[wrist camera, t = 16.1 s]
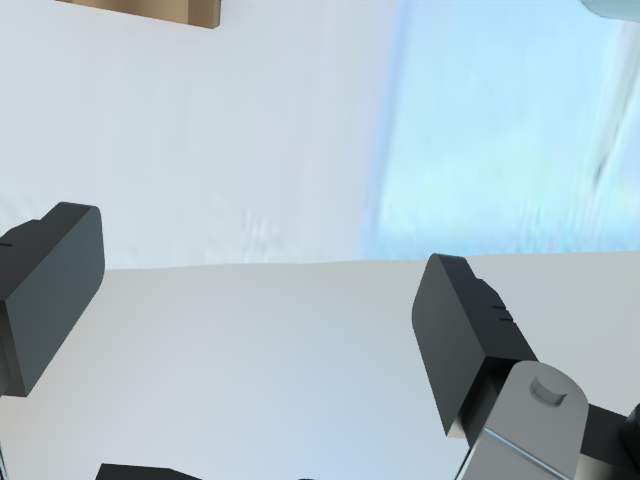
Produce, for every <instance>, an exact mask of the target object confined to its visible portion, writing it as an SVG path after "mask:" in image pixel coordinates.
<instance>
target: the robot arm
mask: <svg viewBox="0 0 640 480" xmlns="http://www.w3.org/2000/svg"><path fill="white" fill-rule="evenodd" d="M581 1H582V3H583V4H584V5H585V6H586V7H587V8H588V9H589V10H590V11H591V12H593V13H595V14H597V15H599V16H601V17H606V18H611V19H618V20H625V21H632V22H637V23H640V0H581ZM104 269H105V259H104V246H103V234H102V221H101V213H100V210H99V208H98V207H96V206H91V205H83V204H76V203H69V202H60V203H58V204H57V205H56V206H55V207H54V208H53V209H52V210H50V211H49V212H48V213H47V214H46V215H45V216H44V217H43V218H42V219H41V220H35V219H33V220H30V221H28V222H26V223H23V224H21V225H19V226H17V227H14V228H12V229H10V230H9V231H8V232H6V233H5V234H4V235H3V236H2V237H1V238H0V397H1V396H2V395H6V396H17V397H27V396H28V395H29V393H30V392H31V390H32V389H33V387H34V386H35V384H36V383H37V381H38V380H39V378H40V377H41V375H42V373H43V372H44V370H45V369H46V367H47V366H48V364H49V363H50V361H51V360H52V358H53V357H54V355H55V354H56V352H57V351H58V349H59V348H60V346H61V345H62V343H63V342H64V340H65V339H66V337H67V336H68V334H69V333H70V331H71V330H72V328H73V327H74V325H75V324H76V322H77V321H78V319H79V318H80V316H81V315H82V313H83V312H84V310H85V309H86V307H87V306H88V304H89V303H90V301H91V300H92V298H93V297H94V295H95V294H96V292H97V291H98V289H99V287H100V285H101V283H102V279H103V275H104ZM412 325H413V329H414V332H415V336H416V339H417V342H418V345H419V349H420V352H421V355H422V359H423V362H424V365H425V368H426V372H427V375H428V378H429V382H430V385H431V388H432V391H433V395H434V398H435V401H436V405H437V408H438V411H439V414H440V417H441V421H442V424H443V427H444V431H445V434H446V437H452V438H463V439H467V441H468V444H469V447H470V448H469V450H468V451H467V453H466V455H465V457H464V459H463V461H462V463H461V465H460V467H459V469H458V472H457V473H456V475H455V478H454V480H640V403H639V404H638V405H637V406H636V407H635V409H634V410H633V411H632V412H631V414H630V415H629V416H628V417H626V416H623V415H620V414H617V413H614V412H612V411H609V410H606V409H603V408H600V407H597V406H594V405H592V404H589V403H588V400H587V398H586V396H585V394H584V393H583V391H582V390H581V388H580V387H579V386H578V385H577V384H576V383H575V382H574V381H573V380H572V379H571V378H570V377H568V376H567V375H565V374H564V373H563V372H561V371H559V370H558V369H556V368H554V367H552V366H549V365H547V364H544V363H541V362H539V361H538V359H537V358H536V356H535V354H534V353H533V351H532V349H531V348H530V346H529V345H528V343H527V341H526V340H525V338H524V336H523V335H522V333H521V331H520V330H519V328H518V326H517V325H516V323H513V318H512V316H511V315H510V313H509V311H508V310H506V306H505V305H504V303H503V301H502V300H501V298H500V296H499V295H498V293H497V292H496V291H495V290H494V289H492V288H491V287H490V286H489V285H488V284H487V283H486V282H485V281H483V280H482V279H477V278H476V277H475V275H474V273H473V272H472V270H471V268H470V266H469V264H468V263H467V261H466V259H465V258H464V257H459V256H451V255H444V254H437V253H434V254H432V255H431V256H430V258H429V260H428V263H427V266H426V268H425V271H424V274H423V277H422V280H421V283H420V286H419V288H418V292H417V294H416V297H415V300H414V303H413V308H412ZM0 480H9V478H8V473H7V469H6V465H5V460H4V456H3V452H2V448H1V443H0ZM95 480H201V479H198V478H195V477H192V476H190V475H186V474H184V473H181V472H178V471H175V470H172V469H169V468H155V467H143V466H130V465H116V464H104V463H102V464H101V467H100V469H99V472H98V474H97V476H96V479H95ZM300 480H312V479H300Z"/></svg>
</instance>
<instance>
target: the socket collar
mask: <svg viewBox="0 0 640 480" xmlns="http://www.w3.org/2000/svg"><path fill="white" fill-rule="evenodd" d="M56 1H62V2H67V3H73V4H78V5H84V6H89V7H95V8H100V9H106V10H111V11H117V12H122V13H128V14H133V15H138V16H144V17H149V18H155V19H160V20H166V21H171V22H177V23H182V24H188V25H193V26H199V27H204V28H210V29H214V28H216V27H217V26H219V25H220V8H221V0H56Z"/></svg>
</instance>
